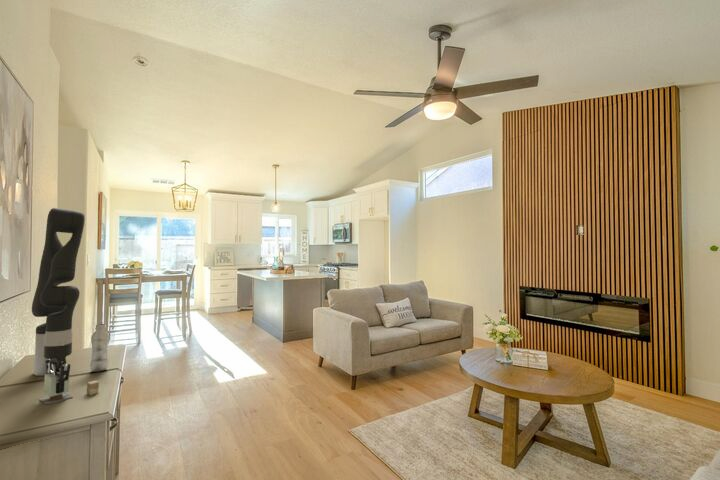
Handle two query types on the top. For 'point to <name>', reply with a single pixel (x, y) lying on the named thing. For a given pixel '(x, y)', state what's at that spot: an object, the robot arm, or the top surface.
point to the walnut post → (55, 398)
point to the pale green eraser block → (53, 385)
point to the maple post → (92, 387)
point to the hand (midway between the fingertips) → (56, 390)
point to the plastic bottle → (99, 348)
